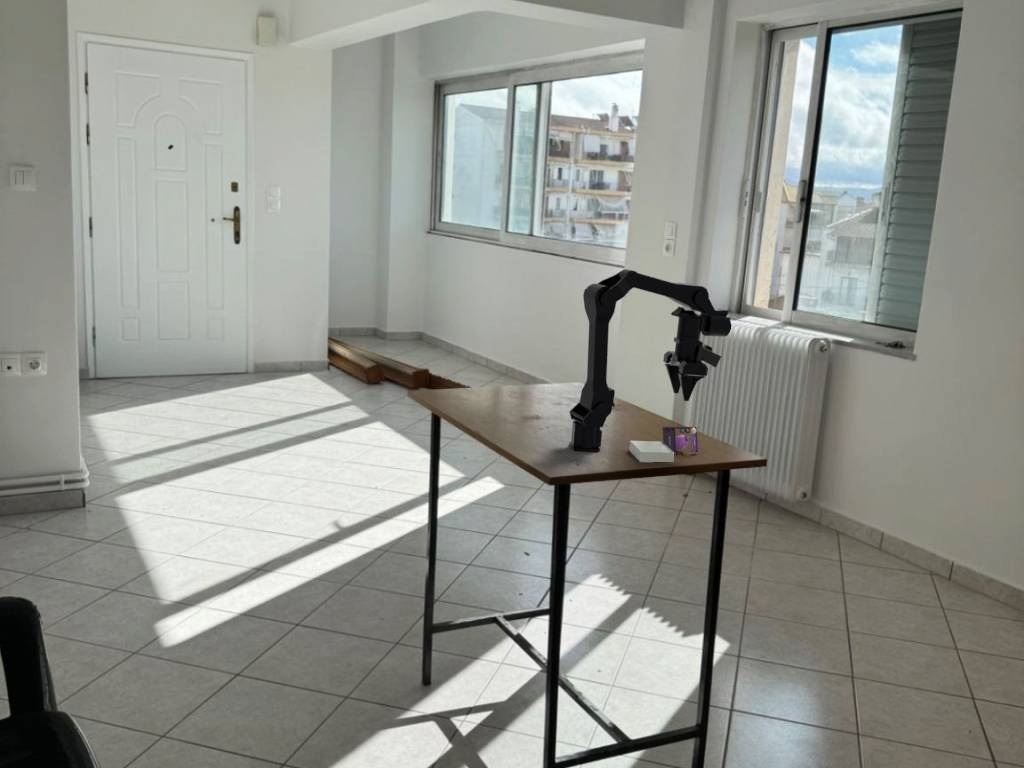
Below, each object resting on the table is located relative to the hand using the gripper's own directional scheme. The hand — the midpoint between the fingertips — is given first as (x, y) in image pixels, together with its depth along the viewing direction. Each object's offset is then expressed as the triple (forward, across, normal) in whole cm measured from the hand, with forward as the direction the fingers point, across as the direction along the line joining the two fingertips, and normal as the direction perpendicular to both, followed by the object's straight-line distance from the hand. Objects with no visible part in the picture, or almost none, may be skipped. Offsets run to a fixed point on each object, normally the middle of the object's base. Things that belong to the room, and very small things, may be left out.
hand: (681, 397), depth 236 cm
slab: (+13, -12, +9) cm, 20 cm away
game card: (+13, -6, +1) cm, 14 cm away
